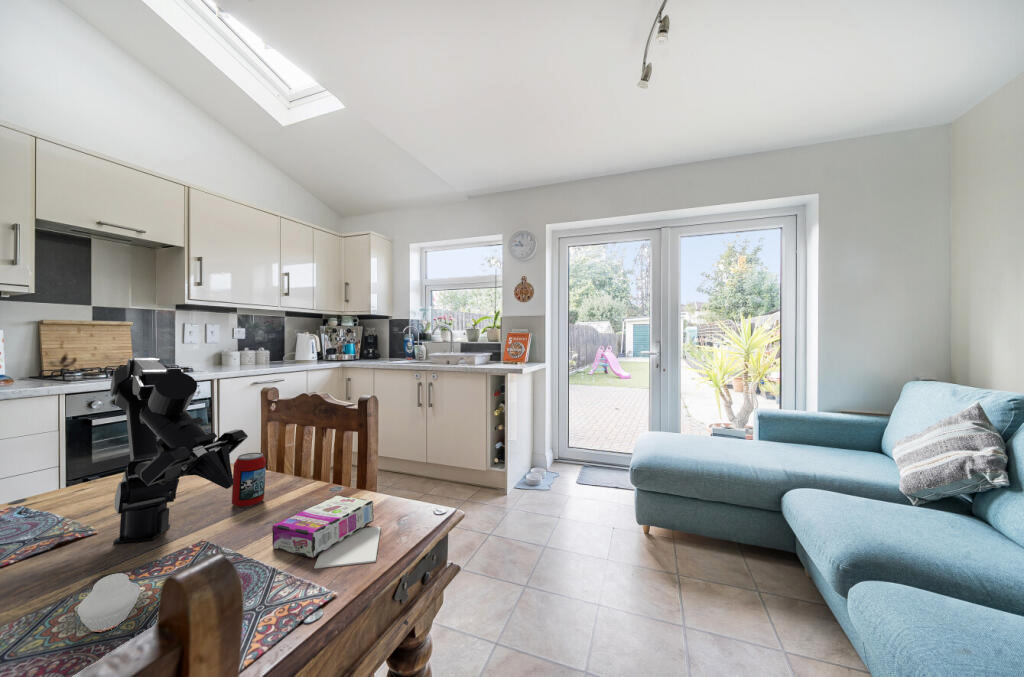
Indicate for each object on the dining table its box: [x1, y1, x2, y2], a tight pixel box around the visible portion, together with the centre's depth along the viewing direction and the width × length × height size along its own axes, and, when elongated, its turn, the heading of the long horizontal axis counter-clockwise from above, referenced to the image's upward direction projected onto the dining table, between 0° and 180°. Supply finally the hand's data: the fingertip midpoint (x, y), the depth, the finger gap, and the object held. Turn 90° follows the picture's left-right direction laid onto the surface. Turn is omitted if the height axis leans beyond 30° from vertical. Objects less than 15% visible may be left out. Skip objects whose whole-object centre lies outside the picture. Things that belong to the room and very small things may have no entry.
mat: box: [314, 526, 382, 569], centre depth 77 cm, size 10×14×1 cm
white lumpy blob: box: [76, 572, 141, 631], centre depth 54 cm, size 6×6×7 cm
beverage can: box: [231, 452, 267, 508], centre depth 96 cm, size 7×7×12 cm
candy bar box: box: [271, 495, 375, 558], centre depth 81 cm, size 11×5×16 cm
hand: (230, 486), depth 72 cm, fingers closed
